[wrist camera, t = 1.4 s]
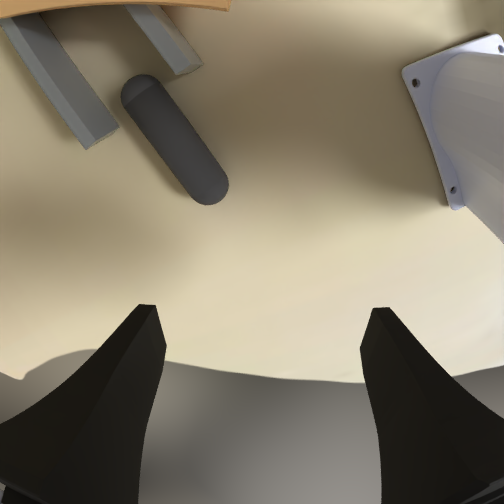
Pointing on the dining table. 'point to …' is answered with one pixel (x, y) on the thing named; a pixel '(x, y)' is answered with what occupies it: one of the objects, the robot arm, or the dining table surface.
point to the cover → (18, 3)
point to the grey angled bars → (71, 80)
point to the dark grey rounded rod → (174, 139)
